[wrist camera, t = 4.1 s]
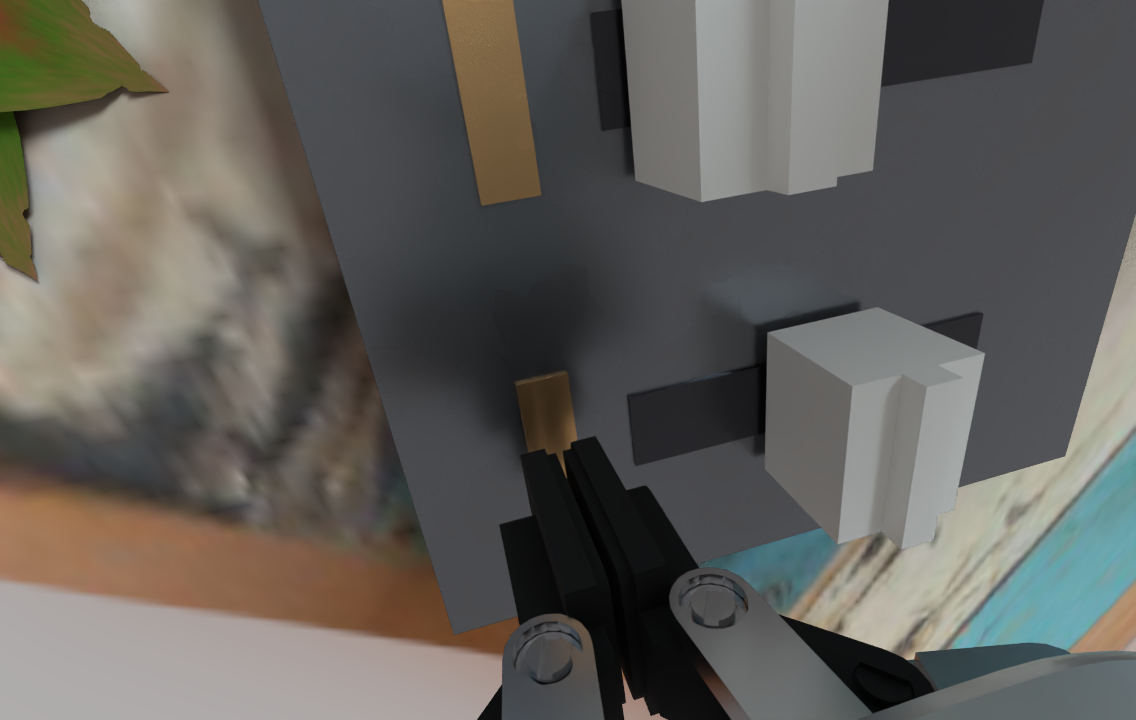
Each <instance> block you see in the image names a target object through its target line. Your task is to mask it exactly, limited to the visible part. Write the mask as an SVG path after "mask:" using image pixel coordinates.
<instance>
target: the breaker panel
mask: <svg viewBox="0 0 1136 720" xmlns="http://www.w3.org/2000/svg"><path fill="white" fill-rule="evenodd" d="M258 3H259V6H260V9H261V12H262V16H263V19H264V22H265V25H266V28H267V32H268V35H269V38H270V41H271V45H272V48H273V51H274V54H275V58H276V61H277V64H278V67H279V70H280V74H281V77H282V80H283V83H284V87H285V90H286V93H287V96H288V100H289V103H290V106H291V109H292V113H293V116H294V119H295V122H296V125H297V129H298V132H299V135H300V138H301V142H302V145H303V148H304V151H305V155H306V158H307V161H308V164H309V167H310V171H311V174H312V177H313V180H314V184H315V187H316V190H317V193H318V197H319V200H320V203H321V206H322V210H323V213H324V216H325V219H326V222H327V226H328V229H329V232H330V235H331V239H332V242H333V245H334V248H335V252H336V255H337V258H338V261H339V264H340V268H341V271H342V274H343V277H344V281H345V284H346V287H347V290H348V294H349V297H350V300H351V303H352V307H353V310H354V313H355V316H356V319H357V323H358V326H359V329H360V332H361V336H362V339H363V342H364V345H365V349H366V352H367V355H368V358H369V361H370V365H371V368H372V371H373V374H374V378H375V381H376V384H377V387H378V391H379V394H380V397H381V400H382V404H383V407H384V410H385V413H386V416H387V420H388V423H389V426H390V429H391V433H392V436H393V439H394V442H395V446H396V449H397V452H398V455H399V458H400V462H401V465H402V468H403V471H404V475H405V478H406V481H407V484H408V488H409V491H410V494H411V497H412V500H413V504H414V507H415V510H416V513H417V517H418V520H419V523H420V526H421V530H422V533H423V536H424V539H425V543H426V546H427V549H428V552H429V555H430V559H431V562H432V565H433V568H434V572H435V575H436V578H437V581H438V585H439V588H440V591H441V594H442V597H443V601H444V604H445V607H446V610H447V614H448V617H449V620H450V623H451V627H452V630H453V633H454V635H456V634H459V633H462V632H466V631H469V630H473V629H476V628H479V627H483V626H486V625H490V624H493V623H497V622H500V621H503V620H507V619H510V618H514V617H517V616H518V615H517V610H516V605H515V600H514V595H513V590H512V585H511V580H510V576H509V571H508V566H507V561H506V556H505V551H504V546H503V541H502V536H501V532H500V527H499V524H502V523H506V522H510V521H514V520H517V519H521V518H525V517H528V516H532V514H531V509H530V504H529V499H528V494H527V489H526V484H525V479H524V474H523V469H522V464H521V459H520V455H521V454H525V453H529V452H533V451H537V450H541V449H545V450H546V453H547V455H548V454H552V453H556V454H557V456H558V459H559V461H560V464H561V466H562V468H563V471H564V473H565V476H566V470H565V464H564V458H563V451H564V450H568V449H571V442H573V441H577V440H581V439H585V438H589V437H593V436H596V438H597V439H598V441H599V443H600V444H601V446H602V448H603V450H604V452H605V453H606V455H607V457H608V459H609V460H610V462H611V464H612V466H613V468H614V469H615V471H616V473H617V475H618V476H619V478H620V480H621V482H622V484H623V485H624V487H625V489H626V490H629V489H633V488H636V487H640V486H644V485H646V486H647V487H648V488H649V489H650V490H651V492H652V493H653V495H654V496H655V498H656V500H657V501H658V503H659V504H660V506H661V508H662V509H663V511H664V512H665V514H666V516H667V517H668V519H669V520H670V522H671V524H672V525H673V527H674V528H675V530H676V532H677V533H678V535H679V536H680V538H681V540H682V541H683V543H684V544H685V546H686V548H687V549H688V551H689V552H690V554H691V555H692V557H693V559H694V560H695V562H696V563H697V564H698V563H702V562H705V561H708V560H712V559H715V558H719V557H722V556H726V555H729V554H732V553H736V552H739V551H743V550H746V549H749V548H753V547H756V546H760V545H763V544H767V543H770V542H773V541H777V540H780V539H784V538H787V537H791V536H794V535H797V534H801V533H804V532H808V531H811V530H814V529H818V528H821V527H820V526H819V525H818V524H817V523H816V522H815V521H814V520H813V518H812V517H811V516H810V515H809V514H808V513H807V512H806V511H805V510H804V509H803V508H802V507H801V506H800V505H799V504H798V503H797V502H796V501H795V500H794V499H793V498H792V497H791V496H790V495H789V494H788V493H787V492H786V491H785V490H784V488H783V487H782V486H781V485H780V484H779V483H778V482H777V481H776V480H775V479H774V478H773V477H772V476H771V475H770V474H769V473H768V472H767V471H766V470H765V430H766V381H767V332H771V331H776V330H780V329H785V328H789V327H793V326H798V325H802V324H807V323H811V322H815V321H820V320H824V319H828V318H833V317H837V316H842V315H846V314H850V313H855V312H859V311H864V310H868V309H872V308H877V307H878V308H881V309H883V310H885V311H888V312H890V313H892V314H895V315H897V316H899V317H902V318H904V319H906V320H909V321H911V322H913V323H916V324H918V325H920V326H923V327H925V328H927V329H930V330H932V331H934V332H937V333H939V334H941V335H944V336H946V337H948V338H951V339H953V340H955V341H958V342H960V343H962V344H965V345H967V346H969V347H972V348H974V349H976V350H979V351H981V352H983V353H985V356H984V361H983V366H982V371H981V376H980V381H979V386H978V391H977V396H976V401H975V406H974V411H973V416H972V421H971V426H970V431H969V436H968V441H967V446H966V451H965V456H964V461H963V466H962V471H961V476H960V481H959V486H958V487H961V486H965V485H968V484H972V483H975V482H978V481H982V480H985V479H989V478H992V477H996V476H999V475H1002V474H1006V473H1009V472H1013V471H1016V470H1019V469H1023V468H1026V467H1030V466H1033V465H1037V464H1040V463H1043V462H1047V461H1050V460H1054V459H1057V458H1061V457H1064V456H1065V455H1066V451H1067V448H1068V444H1069V441H1070V438H1071V434H1072V431H1073V427H1074V424H1075V420H1076V417H1077V413H1078V410H1079V407H1080V403H1081V400H1082V396H1083V393H1084V389H1085V386H1086V383H1087V379H1088V376H1089V372H1090V369H1091V365H1092V362H1093V358H1094V355H1095V352H1096V348H1097V345H1098V341H1099V338H1100V334H1101V331H1102V328H1103V324H1104V321H1105V317H1106V314H1107V310H1108V307H1109V303H1110V300H1111V297H1112V293H1113V290H1114V286H1115V283H1116V279H1117V276H1118V272H1119V269H1120V266H1121V262H1122V259H1123V255H1124V252H1125V248H1126V245H1127V242H1128V238H1129V235H1130V231H1131V228H1132V224H1133V221H1134V217H1135V214H1136V0H889V2H888V13H887V24H886V35H885V45H884V56H883V67H882V77H881V88H880V99H879V109H878V120H877V131H876V141H875V152H874V163H873V171H867V172H862V173H857V174H851V175H846V176H840V177H837V186H835V187H830V188H824V189H819V190H814V191H808V192H803V193H798V194H792V195H785V194H781V193H777V192H772V191H768V190H764V191H759V192H754V193H748V194H743V195H737V196H732V197H726V198H721V199H716V200H710V201H705V202H700V201H697V200H693V199H690V198H687V197H684V196H681V195H678V194H675V193H672V192H669V191H666V190H663V189H660V188H657V187H653V186H650V185H647V184H644V183H641V182H638V181H635V169H634V156H633V143H632V130H631V117H630V104H629V91H628V78H627V65H626V52H625V39H624V27H623V14H622V1H621V0H258ZM566 478H567V476H566Z"/></svg>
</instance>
